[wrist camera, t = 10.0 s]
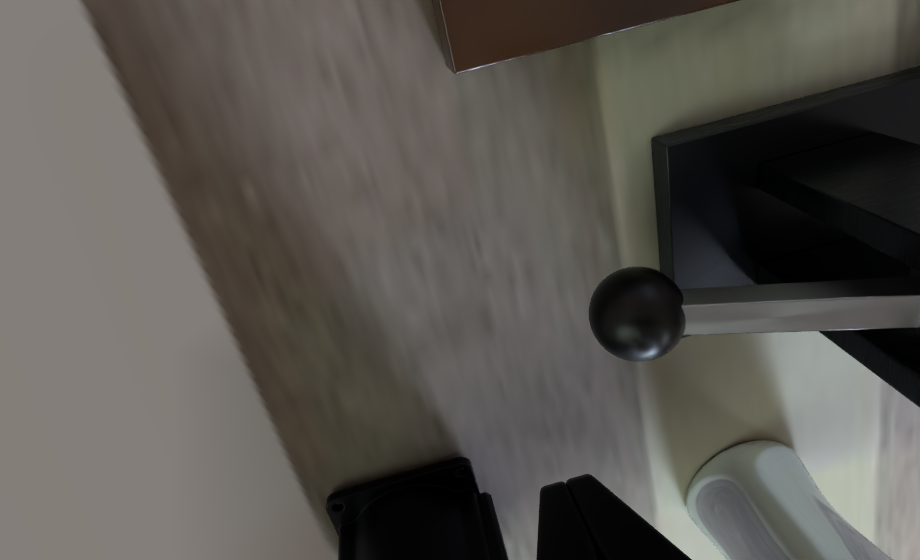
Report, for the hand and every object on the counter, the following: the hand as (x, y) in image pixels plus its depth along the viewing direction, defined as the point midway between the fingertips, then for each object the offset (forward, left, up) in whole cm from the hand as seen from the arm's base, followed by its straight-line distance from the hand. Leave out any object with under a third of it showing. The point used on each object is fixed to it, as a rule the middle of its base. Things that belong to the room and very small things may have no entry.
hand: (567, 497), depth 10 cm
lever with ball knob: (+9, -3, -8) cm, 13 cm away
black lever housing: (+13, -3, -13) cm, 19 cm away
